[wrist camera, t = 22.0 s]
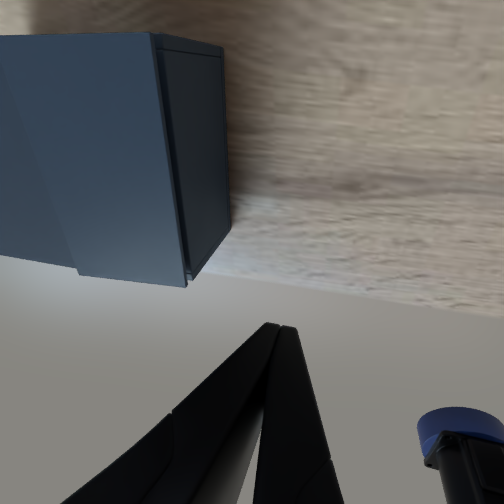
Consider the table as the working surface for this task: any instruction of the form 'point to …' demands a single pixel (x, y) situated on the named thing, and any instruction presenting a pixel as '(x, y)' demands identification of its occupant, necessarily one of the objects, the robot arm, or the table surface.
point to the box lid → (101, 149)
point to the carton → (181, 154)
